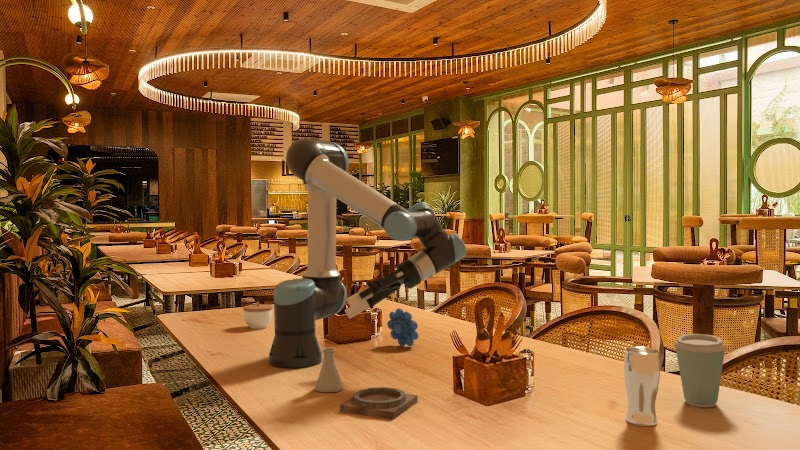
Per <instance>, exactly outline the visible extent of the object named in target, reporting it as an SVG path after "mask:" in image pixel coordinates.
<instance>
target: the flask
mask: <svg viewBox="0 0 800 450" xmlns="http://www.w3.org/2000/svg"><path fill="white" fill-rule="evenodd" d="M335 352H336V347H324V348H322V353H323V358H322V365H321V369H320V372H319V375H318V378H317V381H316V384H315V389H314V391H315V392H319V393H339V392H340V391H342V390H344V385H343V382H342V378H341V376H340V373H339V371H338V368H337V365H336V361H335V360H336V359H335Z"/></svg>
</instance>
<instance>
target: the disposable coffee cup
mask: <svg viewBox="0 0 800 450" xmlns="http://www.w3.org/2000/svg"><path fill="white" fill-rule="evenodd" d="M673 346H674V348H675V352H676V356H677V363H678V369H679V375H680V381H681V387H682V392H683V398H684V400H685V403H686V404H687V405H689V406H692V407H697V408H712V407H713V408H714V407H715V406H717V403H718V401H719V392H720V388H721V387H720V386H721V379H722V372H723V366H724V357H725V353H726V352H725V351H726V350H727V349H726V344H725V343H724V342H723V340H722V338H721V337H718V336H716V335H712V334H702V333H689V334H688V333H687V334H682V335H680V336H677V338H676V340H675V341H674V345H673Z"/></svg>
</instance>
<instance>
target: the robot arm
mask: <svg viewBox="0 0 800 450" xmlns="http://www.w3.org/2000/svg"><path fill="white" fill-rule="evenodd" d="M285 162H286V166H287V168H288V170H289V172H290V173H292V174H293V176H295V177H296V178H298V179H299V180H301V181H303V184H302V185H303V186H304V187H305V189H307V191H308V192H307V196H308V197H307V200H308V201H307V269H305V271H304V272H302V274H301V275H302V277H301V278H292V279H286V280H283V281H281V282H279V283H277V284H276V285H275V287H274V292H273V295H274V296H273V302H274V303H273V304H274V305H273V309H274V310H273V311H274V318H273V320H274V337H273V340H272V343H271V347H270V351H269V353H268V364H269V365H270V366H273V367H277V368H282V369H283V368H286V369H295V368H296V369H297V368H306V367H312V366H315V365H318V364H320V363H322V362H323V357H322V356H323V354H322V353H323V352H322V350H321V347H320V344H319V342H318V338H317V335H316V321H318V320H322V319H326V318H330V317H333V316H335V315H336V314H339V313H340V312H341V311H342V310H343V308H344V307H345V304H346V303H348V305H349V307H347V308H346V309H344V312H345V314H346V316H347V318H348V319H349V320H350V319H352V318H354V317H355V316H357V315H359V314H360V313H362V312H364V311H366V310H367V309H370V310H372V309H374V306H376V305H378V303H380V302H382V301H383V300H385V299H387V298H388V297H389V296H391V295H392V294H393V293H395V292H397V291H399V290H400V289H401V287H402V285H404V286H405V287H406V288H407V289H414V288H415V287H417V286H418V285H420V284H422V283H421V282H424V281H426V280H428V279H430V280H432V279H433V278H434V275H437V274H438V273H440V272H442V271H443V270H445V269H447V268H450V267H451V266H453V265H454V264H455V263H457V262H459V261H460V260H461V259H463V258H465V257H466V255H467V247H466V244H465V242H464V241H463V239H462V237H460V235H459V234H458V233H455V232H453V233H451V234H448V232H447V231H446V230H445V228H444V227H443V225H442V224H441V222H440V221H439V219H438V217H437V216H436V214H435V212H434V210H433V209H432V208H431V207H430V206H429V204H428V203H427V202H425V201H420V202H417V203H415V204H413V205H412V206H410V207H409V208H408V209H406V208H405V207H403V206H401V205H400V204H398V203H397V202H395V201H393V200H392V199H390V198H388V197H387V196H386V195H384V194H382V193H380V192H379V191H377V190H376V189H374V188H372V187H371V186H369V185H367V184H366V183H364V182H363V181H362V180H360V179H358V178H356V177H355V176H353V175H352V174H351V173H348V171H349V170H348V169H349V164H350V163H349V157H348V154H347V152H346V150H345V149H344V148H343V147H342V146H341V145H339V144H338V143H335V142H332V141H330V140H322V139H315V138H314V139H313V138H307V137H305V138H300V139H298V140H295V141H293V143H291V145H290V146H289V147H288V148H287V151H286V155H285ZM337 200H339V201H340V202H342V203H344V204H345V205H347V206H348V207H349V208H351V209H353V210H354V211H355V212H358V213H359V214H360V215H362V216H363V217H365V218H367V219H368V220H369V221H371V222H373V223H375V224H376V225H378V226H379V227H381V228H383V229H384V232H385V233H386V236H387V237H388V238H390V239H391V240H394V241H401V242H404V241H409V240H415V239H416V240H417V239H418V240H419V242H420V244H421V245H422V246H423V248H424V249H422V250H420V251H419V252H417V253H415V254H414V255H411V256H410V257H409V259H405V260H403V261H402V262H400V263H398V264H397V265H396V270H395V271H394V272H391V273H389V274H387V275H385V276H383V277H381V278H378V279H376V280H373V281H369V282H367V286H366V287H364V288H363V289H361V290H359V291H357V292H356V293H354V294H351V296H349V297H347V296H348V292H347V288H346V286H345V285H344V283H343V282H342V281H341V273H340V272H339V271H338V270H337V269H336V262H337V261H336V259H337V258H336V256H337V253H336V252H337V250H336V249H337Z"/></svg>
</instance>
